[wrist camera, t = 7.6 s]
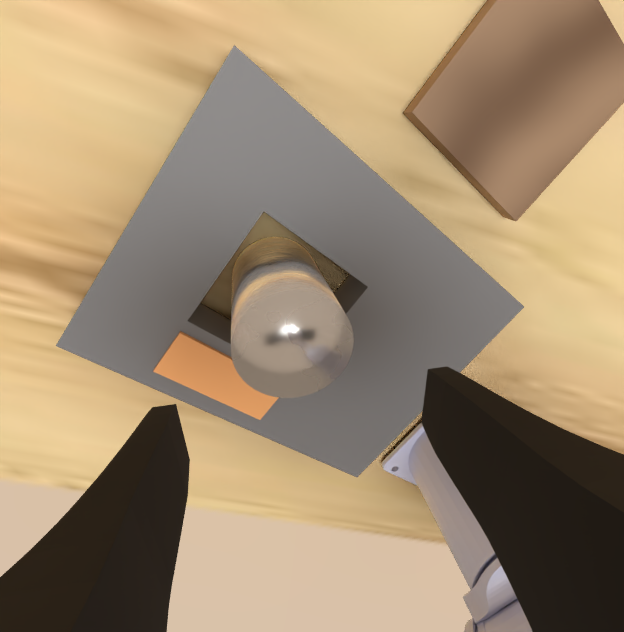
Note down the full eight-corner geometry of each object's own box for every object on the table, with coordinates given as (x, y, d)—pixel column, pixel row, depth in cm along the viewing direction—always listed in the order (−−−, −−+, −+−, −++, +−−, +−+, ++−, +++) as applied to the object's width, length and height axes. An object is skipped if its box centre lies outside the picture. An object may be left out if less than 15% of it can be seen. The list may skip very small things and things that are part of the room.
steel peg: (333, 272, 20) (377, 337, 14) (279, 331, 21) (298, 415, 15) (270, 218, 18) (288, 264, 12) (213, 284, 19) (204, 359, 13)
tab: (625, 81, 19) (644, 79, 18) (504, 217, 21) (516, 221, 20) (536, -65, 15) (554, -77, 14) (403, 113, 17) (412, 112, 16)
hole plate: (495, 289, 22) (526, 308, 20) (346, 447, 26) (357, 480, 24) (234, 57, 15) (234, 44, 13) (76, 320, 19) (53, 348, 16)
